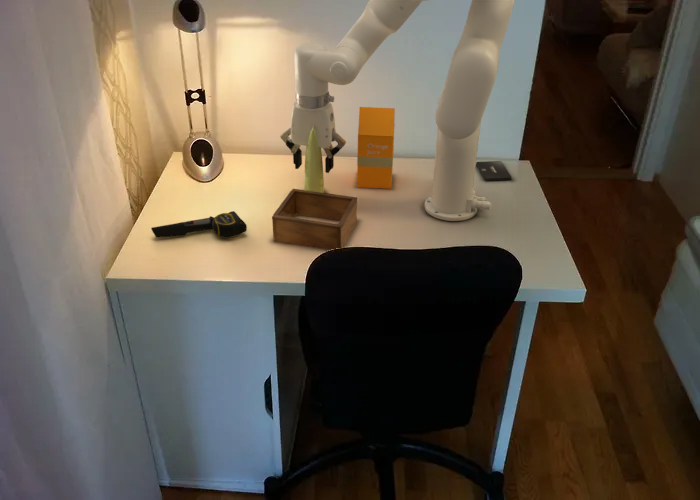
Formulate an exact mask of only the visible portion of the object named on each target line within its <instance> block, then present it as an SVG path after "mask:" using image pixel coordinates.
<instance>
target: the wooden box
mask: <svg viewBox="0 0 700 500" xmlns="http://www.w3.org/2000/svg"><path fill="white" fill-rule="evenodd" d="M296 215H299V216H307V217H312V218H320V219H327V220H334V221H338V223H334V222H333V223H332V222H325V221H319V220H313V219H305V218H299V217H295V216H296ZM271 220H272V221H271V223H272V237H273V239H272V240H273V242H277V243H283V244H288V245H289V244H290V245H296V246H302V247H309V248H314V249H321V250H329V251H332V250H331V249H336V248H342V247H343V248H344V246H345V245H346V242H347V241H348V239H349V237H350V235H351V233H352V232H353V229H354V227H355V226H356V224H357V222H358V196H357V197H356V196H350V195H342V194H336V193H328V192H324V193H322V192H314V191H307V190H304V189H299V188H292V189H291V190H290V191H289V193H287V195H286V197H284V199H283V201H282V202H281V203H280V204H279V206H278V207H277V209H276V210H275V212H273V214H272V216H271ZM343 248H342V249H343Z"/></svg>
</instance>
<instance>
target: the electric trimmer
mask: <svg viewBox="0 0 700 500" xmlns="http://www.w3.org/2000/svg"><path fill="white" fill-rule="evenodd" d="M214 218H215V217H214V216H209V217H204V218H200V219H193V220H187V221H181V222H176V223H170V224H164V225H159V226H153V227H151V228H150V229H151V232H152V233H153V235H154V237H156V238H172V237H185V236H186V235H188V234H193V233H197V232H206V231H213V227H212V222H213V219H214Z"/></svg>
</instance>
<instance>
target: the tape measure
mask: <svg viewBox="0 0 700 500" xmlns="http://www.w3.org/2000/svg"><path fill="white" fill-rule="evenodd" d="M212 227H213V230H212V231H213V232H214V234H215V235H216V236H218V237H221V238H234V237H237V236H239V235H242V234H244V233H246V232H247V229H248V225H247V224H246V222H245V221H244V220H243V219H242V218H241V217H240V216H239V214H238V213H236V212H235V211H234V210H233V211H229V212H222V213H219V214H217V215H216V216H215V217H214V219H213V222H212Z"/></svg>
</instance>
